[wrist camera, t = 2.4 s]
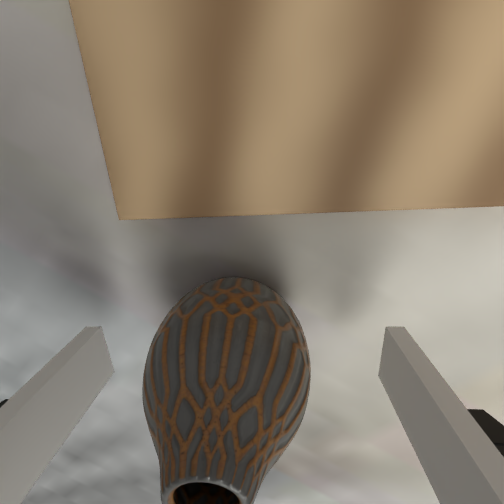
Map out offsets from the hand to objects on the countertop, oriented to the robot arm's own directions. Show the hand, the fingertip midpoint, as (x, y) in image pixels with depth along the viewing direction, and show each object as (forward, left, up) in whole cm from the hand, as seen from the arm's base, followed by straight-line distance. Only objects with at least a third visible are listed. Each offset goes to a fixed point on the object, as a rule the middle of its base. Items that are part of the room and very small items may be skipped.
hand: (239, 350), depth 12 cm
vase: (0, 0, -3) cm, 3 cm away
